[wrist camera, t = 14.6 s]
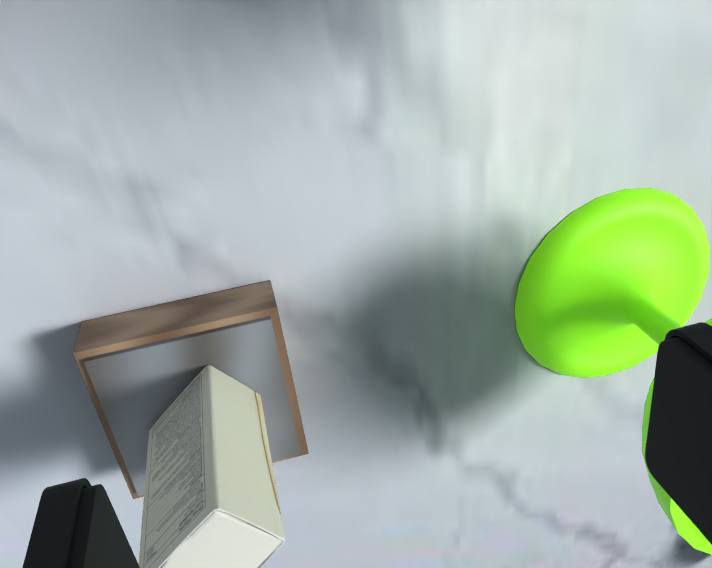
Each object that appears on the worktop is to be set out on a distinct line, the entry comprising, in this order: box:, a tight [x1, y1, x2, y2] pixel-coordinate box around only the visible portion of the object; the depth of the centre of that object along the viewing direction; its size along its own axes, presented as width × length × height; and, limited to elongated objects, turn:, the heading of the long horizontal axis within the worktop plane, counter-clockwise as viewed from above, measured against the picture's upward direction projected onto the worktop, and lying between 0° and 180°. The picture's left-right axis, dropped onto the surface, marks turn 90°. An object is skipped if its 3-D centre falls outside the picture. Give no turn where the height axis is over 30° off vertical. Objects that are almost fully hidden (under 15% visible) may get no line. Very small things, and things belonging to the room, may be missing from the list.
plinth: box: [73, 280, 309, 499], centre depth 43 cm, size 12×12×4 cm
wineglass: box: [514, 188, 712, 555], centre depth 42 cm, size 16×16×18 cm
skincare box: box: [139, 365, 285, 568], centre depth 36 cm, size 6×4×12 cm
